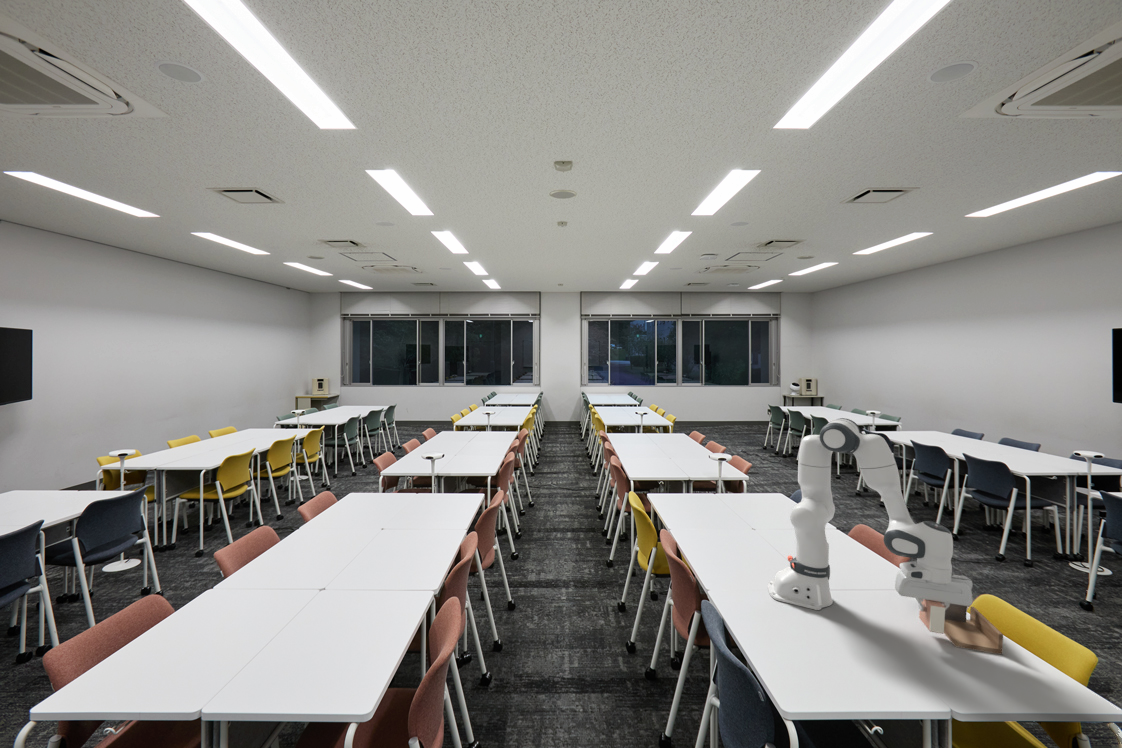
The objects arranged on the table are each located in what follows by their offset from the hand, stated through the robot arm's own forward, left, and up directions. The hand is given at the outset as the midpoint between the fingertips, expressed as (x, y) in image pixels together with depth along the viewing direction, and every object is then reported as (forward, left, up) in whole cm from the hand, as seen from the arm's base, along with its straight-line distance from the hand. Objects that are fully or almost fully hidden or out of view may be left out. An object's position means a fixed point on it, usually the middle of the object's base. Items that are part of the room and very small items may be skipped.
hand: (931, 612), depth 147 cm
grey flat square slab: (+10, +11, -7) cm, 17 cm away
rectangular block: (0, 0, -5) cm, 5 cm away
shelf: (+11, +5, -9) cm, 15 cm away
